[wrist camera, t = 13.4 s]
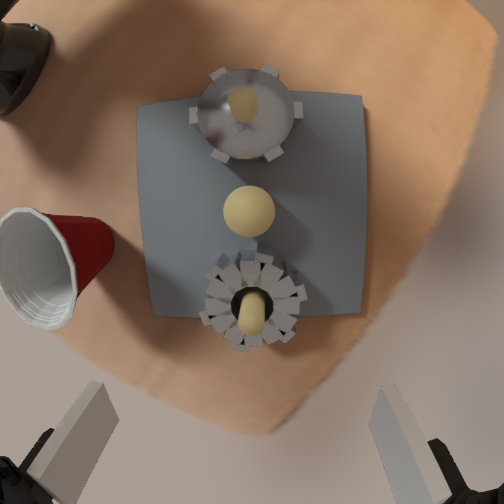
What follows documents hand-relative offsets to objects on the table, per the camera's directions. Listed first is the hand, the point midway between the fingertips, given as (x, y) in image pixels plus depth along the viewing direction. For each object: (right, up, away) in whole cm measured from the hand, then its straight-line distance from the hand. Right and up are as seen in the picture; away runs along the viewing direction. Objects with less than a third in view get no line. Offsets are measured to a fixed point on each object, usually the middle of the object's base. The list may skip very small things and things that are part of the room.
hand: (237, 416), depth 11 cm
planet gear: (+1, +4, +16) cm, 17 cm away
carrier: (+1, +12, +16) cm, 20 cm away
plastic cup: (-17, +8, +18) cm, 26 cm away
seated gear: (0, +19, +13) cm, 23 cm away
